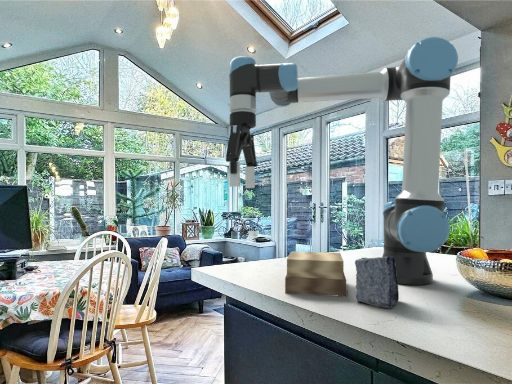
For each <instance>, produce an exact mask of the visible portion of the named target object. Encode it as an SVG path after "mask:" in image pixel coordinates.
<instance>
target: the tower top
mask: <svg viewBox="0 0 512 384" xmlns="http://www.w3.org/2000/svg"><path fill="white" fill-rule="evenodd" d="M343 271H344V259H343V257H342V254H341V252H328V251H327V252H322V251H321V252H320V251H293V250H292V251H290V253H289V254H288V256H287V259H286V275H287V277H298V278H319V279H340V280H343Z"/></svg>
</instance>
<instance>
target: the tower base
mask: <svg viewBox="0 0 512 384" xmlns="http://www.w3.org/2000/svg"><path fill="white" fill-rule="evenodd" d="M284 277H285V278H284V280H285V281H284V283H285V284H284V288H285V289H284V291H285V293H284V294H293V295H308V296H309V295H313V296H325V295H338V296H337V297H343V296H346V297H347V278H346V275H345V271H344V270H343V280H340V279H319V278H298V277H287V274H286V275H285V276H284Z"/></svg>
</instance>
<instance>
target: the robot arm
mask: <svg viewBox="0 0 512 384" xmlns="http://www.w3.org/2000/svg"><path fill="white" fill-rule="evenodd" d="M457 51H458V50H457V49H456V47H455V46H454V44H453V43H451V42H450V41H449V40H448V39H445V38H443V37H440V36H439V37H438V36H430V37H425V38H423V39H420V40H418V41H417V42H416V43H414V45H412V46H411V47H410V48H409V49H408V50H407V52H406V55H405V57H404V59H403V60H402V61H401V63H400V64H399V65H396V66H391V67H384V68H383V69H382V70H381V71H376V72H375V71H374V72H373V71H372V72H362V73H348V74H347V73H346V74H335V75H334V74H333V75H321V76H320V75H319V76H307V77H298V76H299V75H298V65H297V64H296V63H295V62H281V63H270V64H269V63H268V64H257V63H256V60H255V59H254V58H253V57H251V56H245V55H239V56H236V57H233V59H231V61H230V63H229V74H228V77H229V102H228V107H229V112H230V114H229V126H230V133H229V137H228V142H227V150H226V152H225V153H226V154H225V162H226V163H229V181H228V183H229V186H228V187H233V188H234V187H241V162H240V161H239V160H240V158H241V157H240V156H241V153H242V154H243V158H244V161H245V165H246V166H245V168H244V169H245V171H244V173H245V174H244V175H245V176H244V177H245V183H244V185H245V189H255V187H256V186H255V183H256V182H255V181H256V179H255V167H258V163H257V162H258V161H257V155H256V148H255V141H254V140H255V139H254V133H251V129H253V128H256V125H257V123H256V122H257V117H256V116H257V115H256V114H255V113H256V112H257V93H268V94H269V96H270V99H271V101H272V102H273V103H274V104H275V106H278V107H281V108H282V107H283V108H284V107H285V108H286V107H288V106H290V105H291V104H296V103H297V104H298V103H299V104H300V103H311V102H312V103H315V102H316V103H317V102H329V101H330V102H331V101H332V102H333V101H346V100H348V101H349V100H363V99H364V100H366V99H381V100H382V101H384V102H388V101H389V102H391V101H404V102H405V103H406V104H405V125H404V142H403V143H404V146H403V148H404V149H403V163H402V164H403V165H402V187H401V192H400V193H399V194H398V195H397V196H395V200H394V201H389V202H386V203H385V204H384V205H383V212H382V215H383V253H382V257H391V256H393V257H394V259H395V263H396V272H397V281H398V285H410V286H411V285H414V286H421V285H430V284H433V283H434V279H433V277H434V276H433V275H434V274H433V270H432V268H431V266H430V262H429V259H428V256H427V253H429V252H433V251H434V252H435V251H436V250H438V249H439V248H441V247H442V246H443V245H444V244H445V243H446V242H447V240H448V239H449V236H450V231H451V228H450V227H451V225H450V221H449V220H448V217H447V216H446V214H445V199H444V197H442V196H441V195H440V193H439V182H440V181H439V180H440V162H441V161H440V160H441V158H440V157H441V145H442V144H441V141H442V122H443V121H442V120H443V101H444V100H445V99H446V98H447V97H448V96H449V95H450V93H451V92H450V91H451V75H452V74H453V73H454V72H455V70H456V67H457V66H458V63H459V55H458V52H457Z"/></svg>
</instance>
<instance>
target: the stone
mask: <svg viewBox="0 0 512 384" xmlns="http://www.w3.org/2000/svg"><path fill="white" fill-rule="evenodd" d="M354 265H355V268H356V269H355V270H356V274H355V278H356V281H355V289H356V293H355V294H356V295H355V298H356V302H362V303H365V304H368V305H370V306H373V307H378V308H385V309H390V308H392V307H394V306H396V305H397V303H398V302H399V299H400V298H399V297H400V295H399V294H400V293H399V284H398V281H397V272H396V263H395V259H394V257H393V256H391V257H380V256H379V257H361V258H358V259H355V262H354Z"/></svg>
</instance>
